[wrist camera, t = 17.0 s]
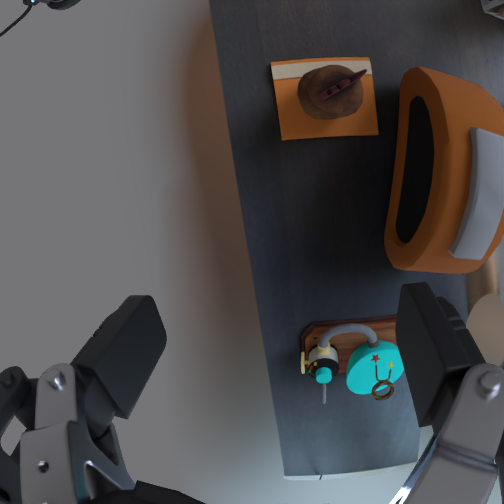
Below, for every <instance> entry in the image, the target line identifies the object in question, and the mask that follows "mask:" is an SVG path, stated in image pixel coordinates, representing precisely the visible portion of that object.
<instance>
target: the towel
mask: <svg viewBox="0 0 504 504" xmlns="http://www.w3.org/2000/svg"><path fill="white" fill-rule="evenodd" d="M327 65H341V66H344V67H347V68H349V69H350V70H352V71H353V72H355V73H356V72H359V71H361V70H364V69H367V72H366V73H365V74H364V75H363V76H362V77H361V78H360V79H361V81H362V85H363V92H364V94H363V103H362V105H361V106H360V108H359V109H358V110H357V112H356V113H354V114H351V115H349V116H346V117H342V118H337V119H329V120H318V119H313V118H312V117H311V116H309V115H308V114H306V113H305V111H304V110H303V108H302V106H301V104H300V102H299V98H298V94H297V89H298V82H299V81H300V79H301V78H302V76H303V75H304V74H305V73H307V72H309V71H311V70H313V69H317V68H321V67H324V66H327ZM271 69H272V75H273V81H274V87H275V94H276V101H277V108H278V115H279V122H280V129H281V137H282V140H293V139H304V138H318V137H334V136H357V135H379V134H378V123H377V112H376V103H375V95H374V87H373V80H372V70H371V63H370V60H369V57H339V58H315V59H301V60H290V61H280V62H272V63H271Z"/></svg>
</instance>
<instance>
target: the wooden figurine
mask: <svg viewBox="0 0 504 504" xmlns="http://www.w3.org/2000/svg"><path fill="white" fill-rule="evenodd" d="M366 72H367V69H364V70H361V71H359V72H356V73H355V72H353V71H352V70H350V69H349V68H347V67H344V66H341V65H327V66H324V67H321V68H317V69H313V70H311V71H309V72H307V73H305V74H304V75H303V76H302V78H301V79H300V81H299V82H298V89H297V94H298V98H299V102H300V104H301V106H302V108H303V110H304V111H305V113H306V114H308V115H309V116H311V117H312V118H313V119H318V120H329V119H337V118H342V117H346V116H349V115H351V114H354V113H356V112H357V110H358V109H359V108H360V106H361V105H362V103H363V94H364V92H363V85H362V81H361V79H360V78H361V77H362V76H363V75H364V74H365V73H366Z"/></svg>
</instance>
